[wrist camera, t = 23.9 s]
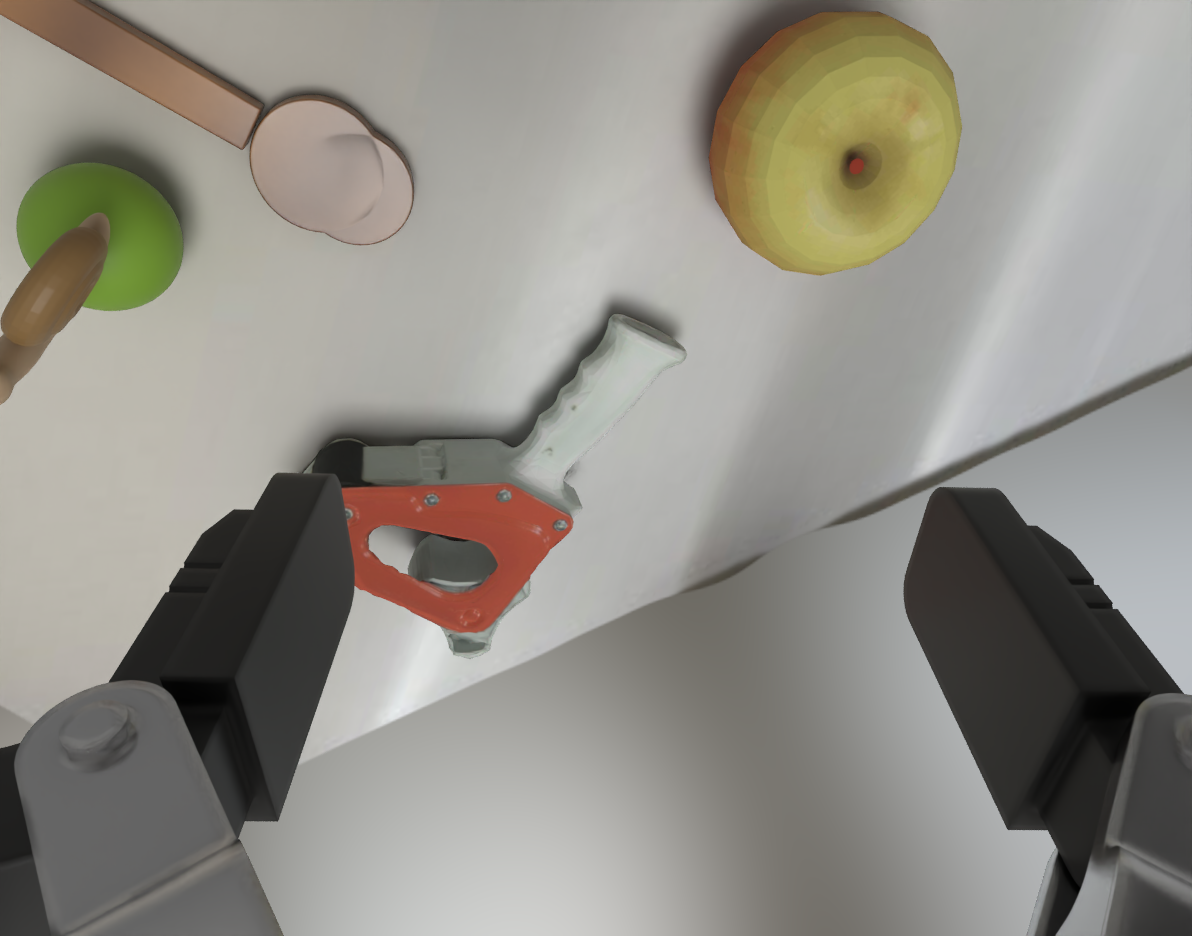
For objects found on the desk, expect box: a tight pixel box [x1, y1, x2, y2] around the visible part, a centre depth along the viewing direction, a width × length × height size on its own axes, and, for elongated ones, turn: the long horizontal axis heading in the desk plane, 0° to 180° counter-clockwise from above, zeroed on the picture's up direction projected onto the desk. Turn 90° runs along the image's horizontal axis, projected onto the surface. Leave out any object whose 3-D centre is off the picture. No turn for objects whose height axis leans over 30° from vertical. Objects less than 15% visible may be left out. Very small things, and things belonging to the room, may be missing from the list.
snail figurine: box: [0, 163, 183, 405], centre depth 29 cm, size 5×6×12 cm
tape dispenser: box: [303, 314, 687, 659], centre depth 41 cm, size 18×5×20 cm
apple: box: [709, 12, 962, 276], centre depth 33 cm, size 10×10×8 cm
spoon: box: [0, 0, 414, 245], centre depth 31 cm, size 20×5×1 cm, turn 55°
